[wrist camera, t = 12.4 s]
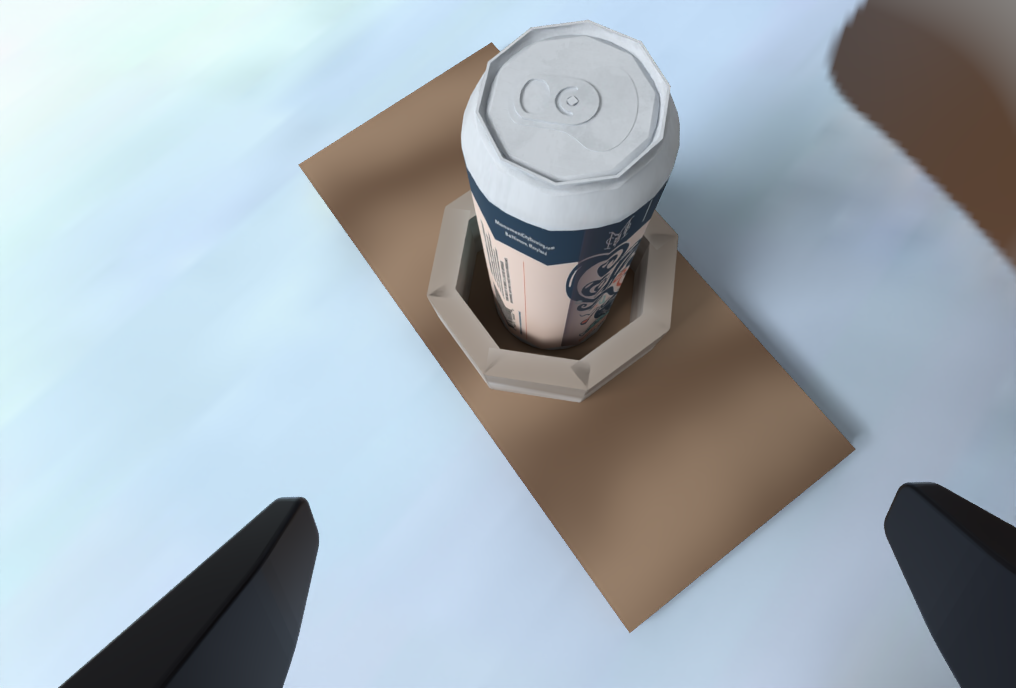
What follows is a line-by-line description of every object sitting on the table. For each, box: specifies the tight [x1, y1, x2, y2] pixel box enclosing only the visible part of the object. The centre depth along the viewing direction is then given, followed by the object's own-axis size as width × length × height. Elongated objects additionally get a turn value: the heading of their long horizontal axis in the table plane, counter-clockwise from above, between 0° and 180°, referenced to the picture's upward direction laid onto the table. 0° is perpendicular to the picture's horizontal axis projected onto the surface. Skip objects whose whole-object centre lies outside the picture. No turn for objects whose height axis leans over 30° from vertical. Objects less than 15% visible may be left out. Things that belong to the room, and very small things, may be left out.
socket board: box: [299, 42, 855, 633], centre depth 21 cm, size 24×11×4 cm, turn 36°
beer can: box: [461, 20, 680, 350], centre depth 16 cm, size 5×5×12 cm
